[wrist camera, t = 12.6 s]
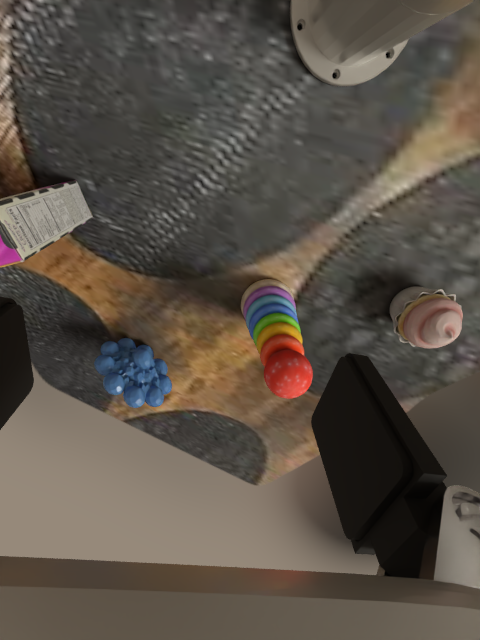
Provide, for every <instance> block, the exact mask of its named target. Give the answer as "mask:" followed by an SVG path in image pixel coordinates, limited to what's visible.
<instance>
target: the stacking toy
mask: <svg viewBox="0 0 480 640" xmlns="http://www.w3.org/2000/svg"><path fill="white" fill-rule="evenodd" d="M241 311H242V314H243V316H244V318H245V321H246V324H247V327H248V329H249V332H250V335H251V337H252V339H253V340H254V343H255V345H256V346H257V350H258V352H259V354H260V358H261V361H262V363H263V365H264V366H265V369H264V378H265V382H266V384H267V386H268V388H269V389H270V390H271V391H272V392H273V393H274V394H276V395H277V396H279V397H282V398H295V397H298V396H300V395H302V394H303V393H305V392H306V391H307V390H308V388H309V387H310V385H311V382H312V377H313V372H312V368H311V365H310V363H309V361H308V360H307V358H306V357H305V356H304V348H303V346H302V336H301V332H300V327H299V325H298V319H297V314H296V306H295V302H294V297H293V294H292V292H291V290H290V289H289V288H288V287H287V286H286V285H285V284H284V283H282V282H280V281H277V280H273V279H264V280H260V281H257V282H255V283H253V284H252V285H251V286H249V287H248V288H247V290H246V291H245V292H244V294H243V296H242V299H241Z"/></svg>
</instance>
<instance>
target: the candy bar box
mask: <svg viewBox="0 0 480 640" xmlns="http://www.w3.org/2000/svg"><path fill="white" fill-rule="evenodd" d="M91 219H93V216H92V213H91V211H90V209H89V207H88V205H87V203H86V201H85V199H84V196H83V194H82V192H81V189H80V187H79V185H78V183H77V181H76V180H73V181H68V182H64V183H60V184H56V185H51V186H47V187H43V188H40V189H36V190H32V191H28V192H24V193H20V194H16V195H13V196H9V197H5V198H2V199H0V267H5V266H8V265H12V264H16V263H20V262H23V261H25V260H26V259H28V258H29V257H31V256H33V255H34V254H36V253H37V252H39V251H41V250H43V249H44V248H46V247H47V246H49V245H51V244H52V243H54V242H55V241H57V240H58V239H60V238H61V237H63V236H65V235H66V234H68V233H70V232H71V231H73V230H74V229H76V228H78V227H80V226H81V225H83V224H85V223H86V222H88V221H90V220H91Z"/></svg>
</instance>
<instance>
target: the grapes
mask: <svg viewBox="0 0 480 640" xmlns="http://www.w3.org/2000/svg"><path fill="white" fill-rule="evenodd" d="M101 354H102V355H100V356H99V357H97V358H96V360H95V363H94V365H95V369H96V370H97V371H98V373H100V374H101V375H105V377H104V381H103V385H104V388H105V389H106V391H107V392H108V393H110V394H113V395H118V394H121V393H122V392H123V391H124V394H123V397H124V401H125V402H126V403H127V404H128V405H129V406H131V407H134V408H137V407H141V406H142V405H143V404H144V402H146V403H147V404H148V405H150V406H152V407H157V406H160V405H161V404H162V403H163V400H164V396H163V394H168V393H169V392H170V391H171V389H172V383H171V380H170V379H169V377H168V376H166V374H167V370H168V369H167V365H166V363H165V362H164V361H163V360H162V359H158V358H156V359H153V357H154V354H153V350H152V349H151V347H149V346H148V345H140V346H138V347H137V348H136V345H135V343H134V342H133V340H131V339H130V338H122V339H120V340H119V341H118V343H116V342H113V341H108V342H105V343H104V344H103V345H102V346H101Z"/></svg>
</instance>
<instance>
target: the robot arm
mask: <svg viewBox="0 0 480 640" xmlns="http://www.w3.org/2000/svg"><path fill="white" fill-rule="evenodd" d="M473 1H475V0H291V2H290V23H291V31H292V36H293V41H294V44H295V47H296V49H297V52H298V55H299V57H300V58H301V60H302V62H303V63H304V65H305V67H306V68H307V69H308V70H309V71H310V72H311V73H312V74H313V75H314V76H315V77H317V78H318V79H319V80H321V81H322V82H324V83H327V84H330V85H333V86H340V87H348V86H355V85H358V84H361V83H364V82H366V81H368V80H370V79H372V78H374V77H376V76H377V75H378V74H380V73H381V72H382V71H384V70H385V69H386V68H387V67H388V66H389V65H390V64H391V63H392V62H393V61H394V60H395V59H396V58H397V57H398V55H399V54H400V52H401V51H402V50H403V48H404V47H405V46H406V44H407V42H408V40H409V38H410V37H412V36H414V35H416V34H417V33H419V32H421V31H423V30H424V29H426V28H428V27H430V26H431V25H433V24H435V23H437V22H438V21H440V20H442V19H444V18H446V17H447V16H449V15H451V14H453V13H454V12H456V11H458V10H460V9H461V8H463V7H465V6H467V5H468V4H470V3H471V2H473ZM298 25H301V27H302V29H301V31H299V30H298V29H297V26H298ZM386 53H388V58H386ZM333 73H335V74H336V77H335V78H333V77H332V74H333ZM33 382H34V378H33V372H32V365H31V359H30V353H29V347H28V340H27V334H26V328H25V321H24V315H23V310H22V307H21V306H19V305H17V304H16V302H15V301H14V300H13V299H11V298H4V297H0V430H1V428H2V427H3V426H4V424H5V423H6V422H7V421H8V419H9V418H10V417H11V416H12V414H13V413H14V412H15V410H16V409H17V408H18V407H19V405H20V404H21V403H22V402H23V400H24V399H25V398H26V396H27V395H28V394H29V392H30V391H31V389H32V387H33ZM311 423H312V428H313V432H314V435H315V438H316V442H317V445H318V448H319V452H320V455H321V458H322V461H323V465H324V468H325V471H326V475H327V478H328V481H329V484H330V488H331V491H332V494H333V498H334V501H335V504H336V508H337V511H338V514H339V517H340V521H341V524H342V527H343V531H344V533H345V535H346V537H347V538H348V539H351V542H352V545H353V548H354V551H355V553H357V554H372V555H374V554H376V556H377V559H378V562H379V564H380V565H379V568H378V572H377V575H362V574H348V573H330V572H311V571H293V570H275V569H255V568H237V567H217V566H198V565H178V564H157V563H137V562H115V561H94V560H75V559H74V560H73V559H53V558H52V559H51V558H29V557H8V556H0V640H480V494H479V493H477V492H475V491H474V490H472V489H469V488H466V487H463V486H451V487H449V488H446V486H445V484H444V483H443V480H444V479H445V478H446V477H447V475H446V473H445V472H444V470H443V469H442V467H441V466H440V464H439V463H438V461H437V460H436V458H435V457H434V455H433V454H432V452H431V451H430V449H429V448H428V446H427V445H426V443H425V442H424V440H423V439H422V437H421V436H420V434H419V433H418V431H417V430H416V428H415V427H414V425H413V424H412V422H411V421H410V419H409V418H408V416H407V415H406V413H405V411H404V410H403V408H402V407H401V405H400V404H399V402H398V401H397V399H396V398H395V396H394V395H393V393H392V392H391V390H390V389H389V387H388V386H387V384H386V383H385V381H384V380H383V378H382V377H381V375H380V374H379V372H378V371H377V369H376V368H375V366H374V365H373V363H372V362H371V360H370V359H369V358H368V357H367V356H363V355H357V354H351V353H349V354H347V355H346V356H345V357H341V358H340V359H339V361H338V363H337V365H336V367H335V369H334V371H333V373H332V376H331V378H330V380H329V382H328V384H327V386H326V388H325V390H324V392H323V394H322V396H321V398H320V401H319V403H318V405H317V407H316V409H315V411H314V413H313V415H312V421H311Z"/></svg>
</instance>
